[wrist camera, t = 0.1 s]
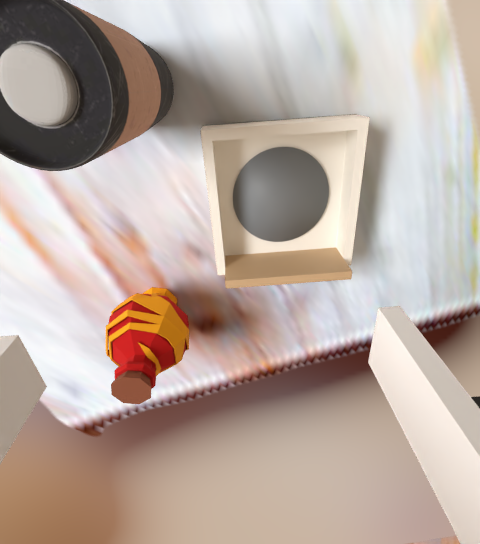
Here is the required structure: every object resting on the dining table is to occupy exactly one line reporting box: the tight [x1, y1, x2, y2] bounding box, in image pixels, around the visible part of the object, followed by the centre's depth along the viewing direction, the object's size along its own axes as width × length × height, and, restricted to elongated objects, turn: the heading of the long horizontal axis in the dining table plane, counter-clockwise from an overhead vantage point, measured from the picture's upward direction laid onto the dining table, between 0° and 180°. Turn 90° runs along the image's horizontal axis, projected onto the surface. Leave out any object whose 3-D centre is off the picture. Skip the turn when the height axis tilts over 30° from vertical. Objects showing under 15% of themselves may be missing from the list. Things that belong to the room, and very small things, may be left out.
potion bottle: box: [106, 287, 189, 404], centre depth 38 cm, size 10×10×15 cm
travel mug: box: [0, 0, 173, 171], centre depth 23 cm, size 8×8×20 cm
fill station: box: [200, 114, 370, 288], centre depth 35 cm, size 16×16×7 cm
